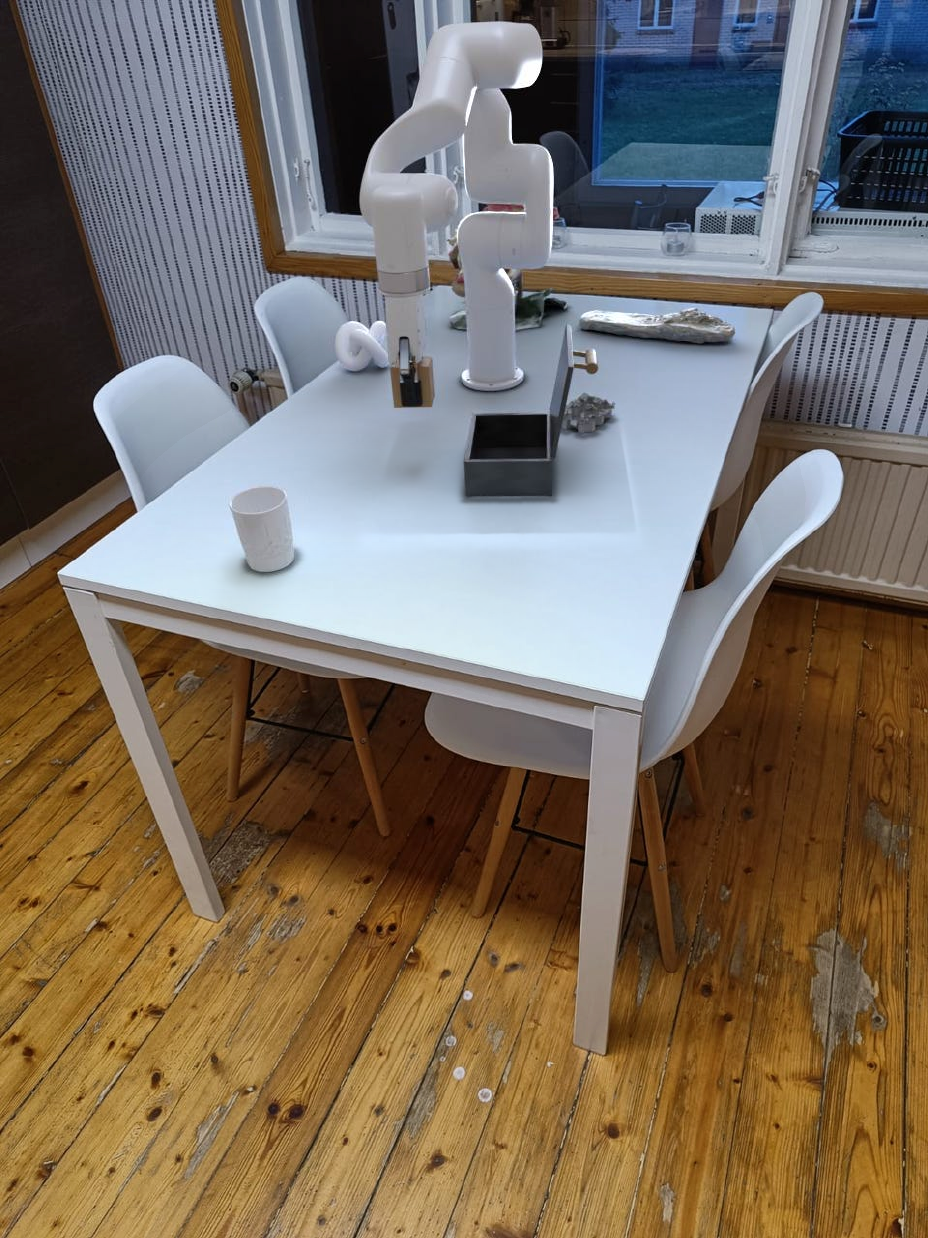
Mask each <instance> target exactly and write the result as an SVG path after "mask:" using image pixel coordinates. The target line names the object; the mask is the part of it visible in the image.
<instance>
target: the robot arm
mask: <svg viewBox="0 0 928 1238" xmlns="http://www.w3.org/2000/svg"><path fill="white" fill-rule="evenodd" d="M430 38H431V39H429V43H428V46H427V50H426V53H425V57H424V61H423V64H422V69H421V72H420V77H419V79H418V84H417V88H416V91H415V95H414V98H413V103H412V106H411V107H410V108H409V109H407V110H406V111H405V112H404V113H403V114H402V115H400V116H399V117H398V118H397V119H395V121H394V122H392V124H391V125H389V127H387V128H386V129H385V130H384V132H383V133H382V134H381V135H380V136H379V137H378V138H377V140H376V141H375V142H374V144H373V145H372V147H371V149H370V152H369V154H368V158H367V161H366V164H365V167H364V171H363V174H362V179H361V183H360V190H359V208H360V213H361V216H362V218H363V220H364V221H365V223H366V224H367V225H369V226H370V227H371V228H372V233H373V234H372V235H373V236H372V237H373V244H374V245H373V246H374V254H375V264H376V274H377V282H378V283H377V284H378V290H379V291H378V292H379V294H380V295H382V296H384V297H385V302H384V303H385V308H384V309H385V312H384V313H385V324H386V331H387V332H386V342H387V355H388V361H389V364H390V365H391V364H394V363H396V361H397V358H398V357H399V372H400V391H401V401H402V406H403V407H416V408H421V407H420V406H422V404H423V402H422V389H421V380H419V375H418V363H419V362H420V361H421V359H422V357H424V352H425V348H426V346H427V323H426V310H425V307H426V306H425V296H424V295H425V294H426V293H428V292H430V290H431V277H430V265H429V263H430V262H429V251H428V237H427V234H428V235H429V234H431V233H436V232H439V231H442V230H445V229H446V228H447V227H449V226H450V225H451V224H452V222H453V220H454V219H455V217H456V215H457V212H458V208H459V195H458V191H457V189H456V186H455V184H454V183H453V181H451V179H450V178H448V177H447V176H445V175H441V174H439V173H437V174H436V173H413V172H412V173H410V172H407V173H405V172H404V173H401V172H402V171H403V170H405V168H407V167H408V166H409V165H411V164H413V163H415V162H416V161H418V160H421V159H422V158H425V157H428V156H430V155H433V154H434V153H435V154H436V153H437V152H439V151H441V150H443V149H446V148H448V147H450V146H452V145H453V144H454V143H456V142H458V141H459V140H460V139H461V138H462V151H463V152H462V153H463V180H464V188H465V192H466V196H467V197H468V199H469V200H471V201H472V202H475V203H477V204H484V205H486V204H519V205H522V206H523V207H524V209H525V212H526V213H514V212H483V211H478V212H473V213H470V214H468V215H466V216H464V217H465V218H464V217H463V218H464V219H463V218H462V219H463V220H462V219H461V220H462V221H461V220H460V221H461V223H460V225H459V226H458V227H457V229H458V232H457V243H458V249H459V254H460V258H461V263H462V268H463V275H464V285H465V297H464V299H465V310H466V321H467V329H466V337H467V339H466V340H467V360H468V368H467V369H465V370H464V371H463V372H462V374H461V382H462V384H463V385H464V386H465V387H467V388H470V389H472V390H476V391H484V392H495V391H497V392H498V391H503V390H504V391H505V390H508V389H512V388H514V387H516V386H518V385H519V384H521V383H522V382H523V380H524V372H523V370H522V369H521V368H520V367H519V366H517V365H516V363H517V362H516V330H515V295H514V289H513V285H512V283H511V281H510V279H509V277H508V276H507V274H506V273H505V271H504V270H503V269H521V270H538V269H542V268H544V267H545V266H546V265H547V264H548V262H549V260H550V257H551V253H552V247H553V244H552V240H553V222H552V217H553V207H554V166H553V160H552V157H551V155H550V153H549V151H548V149H547V148H546V147H544V146H542V145H540V144H537V143H536V144H535V143H513V139H512V111H511V108H510V105H509V103H508V101H507V99H506V97H505V95H504V94H503V92H502V91H501V89H521V88H526V87H530V86H532V85H533V84H534V83H535V81H536V80H537V78H538V76H539V74H540V72H541V68H542V64H543V45H542V43H543V42H542V39H541V36H540V34H539V32H538V30H537V29H536V28H535V26H534V25H532V24H531V23H526V22H525V23H523V22H512V21H480V22H478V21H477V22H461V23H460V22H455V23H450V24H446V25H443V26H441V27H440V28H438V29H437V30H436V31H435V32H434V33H433V35H431V37H430ZM410 357H414V361H410ZM410 366H414V371H413V369H410Z"/></svg>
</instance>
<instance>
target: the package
mask: <svg viewBox="0 0 928 1238" xmlns="http://www.w3.org/2000/svg"><path fill="white" fill-rule="evenodd" d="M410 361H414V357H410ZM410 369H413V371H414V366H410ZM389 372H390V381H391V391H392V392H391V393H392V400H393V408H394V409H409V408H410V409H411V408H413V409H414V408H416V409H417V407H403V406H402V401H401V391H400V372H399V356H398V358H397V361H396V363H394V364H390V367H389ZM418 375H419V380H421V389H422V402H423V404H422V406H420V407H419V408H433V405H434V401H435V396H436V392H435V379H434V377H435V376H434V365H433V356H431V355H430V356H423V357H422V359H421V361H420V362H419V363H418Z"/></svg>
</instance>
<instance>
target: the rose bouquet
mask: <svg viewBox="0 0 928 1238" xmlns="http://www.w3.org/2000/svg"><path fill="white" fill-rule="evenodd" d="M485 205H486V206H485V207H484V208H483V209H482V212H514V213H526V212H525V209H524V207H523V206H522V205H519V204H485ZM558 210H559V209H558V208H557V206H553V217H552V223H553V222H554V221H555V220H557V219H558V218H560V214H559V211H558ZM465 217H466V216H464V217H463V218H461V220H459V221H458V222H457V226H458V227H459V225H460V223H461V221H462V220H463V219H464V218H465ZM454 232H455V234H454V236H453V237H451V238H448V239H447V238H446V242H448V244H449V246H451V247H452V248H451V249H450V251H449V253H447V254H448V257H449V258H448V260H449V262H451V264H452V265H453V268H454V269H455V270H456V271H459V273H457V274H456V273H455V274H452V277H454V276H456V277H455V278H454V279H453V281H452V284H451V290H452V292H453V293H454V294H455V295H456V296H458V297H461V298H465V284H464V275H463V268H462V263H461V258H460V254H459V249H458V243H457V232H458V228H455V229H454ZM552 245H555V246H556V245H557V246H558V245H560V241H558V240H555V239H552ZM503 270H504V271H505V273H506V274H507V276H508V277H509V279H510V281H511V283H512V285H513V289H514V295H515V331H519V330H523V329H533V328H539V327H541V321H542V318H544V317H546V316H547V315H546V313H545V312H544V310H545V306H546V307H547V306H558V307H563V310H565V309H567V308H569V307H568V306H567V305H568V304H567V301H565V300H561V299H558V298H556V297H554V296H553V297H549V296H550V295H551V292H552V290H554V287H549V288H547V289H546V290H542V291H539V292H535V293H532V294H528V295H524V293H523V291H524V284H523V283H524V282H523V281H524V278H523V271H522V270H523V269H503ZM516 288H517V290H516ZM448 318H449V320H450V323H451V325H452V327H453V328H454V329H459V330H467V321H466V309H463V310H459V311H458V312H456V313H454V314H453V315H450V316H448Z"/></svg>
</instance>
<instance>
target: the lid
mask: <svg viewBox="0 0 928 1238" xmlns="http://www.w3.org/2000/svg"><path fill="white" fill-rule="evenodd" d="M564 328H565V329H564V332H563V338H562V344H561V349H560V354H559V357H558V358H559V359H558V364H557V369H556V373H555V379H554V383H553V389H552V394H551V395H552V396H551V399H550V404H549V412H550V458H552V459H556V455H557V450H558V447H559V442H560V436H561V433H562V432H561V431H562V422H563V418H564V413H565V408H566V405H567V403H568V397H569V393H570V389H571V383H572V379H573V374H574V369H580V370H585V371H586V373H587V374H588V375H595V374H596V373H597V372H598V371H599V364H598V357H597V352H596V350H595V349H594V348H588V349H586V350H585V351H582V350H578V349H577V350H576V349H573V337H572V336H573V335H572V326H571V324H565V327H564ZM574 357H580V358H584V362H580V361H579V362H578V361H574Z"/></svg>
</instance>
